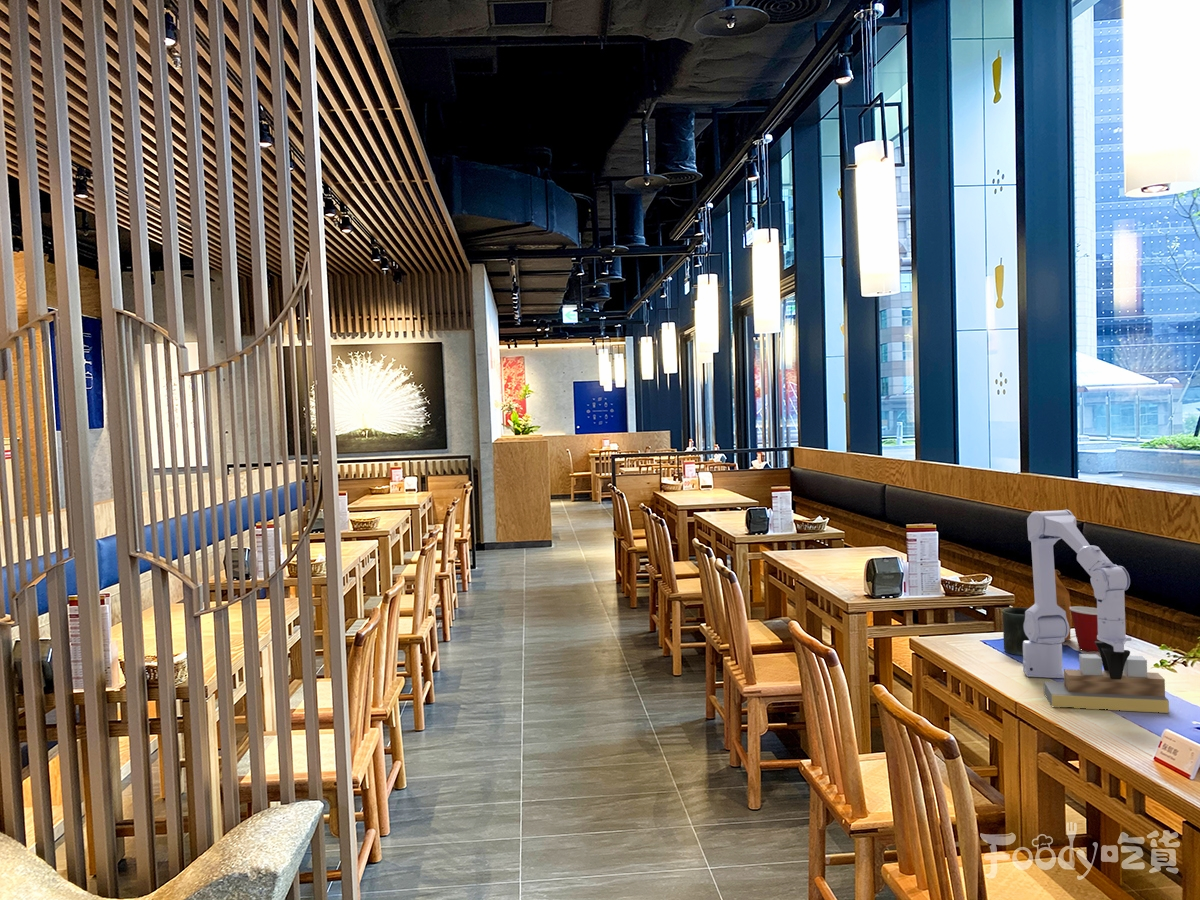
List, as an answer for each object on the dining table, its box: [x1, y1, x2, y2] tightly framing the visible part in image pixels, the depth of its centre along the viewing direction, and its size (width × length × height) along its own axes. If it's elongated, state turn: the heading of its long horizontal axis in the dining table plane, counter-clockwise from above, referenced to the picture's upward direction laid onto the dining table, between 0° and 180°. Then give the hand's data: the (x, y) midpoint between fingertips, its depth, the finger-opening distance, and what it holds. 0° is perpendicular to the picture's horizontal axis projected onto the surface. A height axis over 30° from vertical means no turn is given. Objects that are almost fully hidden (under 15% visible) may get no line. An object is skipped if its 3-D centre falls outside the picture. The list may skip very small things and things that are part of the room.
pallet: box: [1063, 668, 1166, 697], centre depth 213 cm, size 20×6×4 cm, turn 72°
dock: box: [1043, 681, 1170, 714], centre depth 214 cm, size 24×11×3 cm, turn 72°
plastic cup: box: [1069, 605, 1099, 652], centre depth 263 cm, size 11×11×12 cm
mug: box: [1000, 606, 1030, 656], centre depth 265 cm, size 11×15×12 cm
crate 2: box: [1123, 655, 1148, 677], centre depth 212 cm, size 4×4×4 cm
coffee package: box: [1046, 569, 1073, 641], centre depth 279 cm, size 10×12×22 cm
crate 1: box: [1078, 653, 1103, 676], centre depth 215 cm, size 4×4×4 cm
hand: (1112, 675), depth 213 cm, fingers open, 6 cm apart
